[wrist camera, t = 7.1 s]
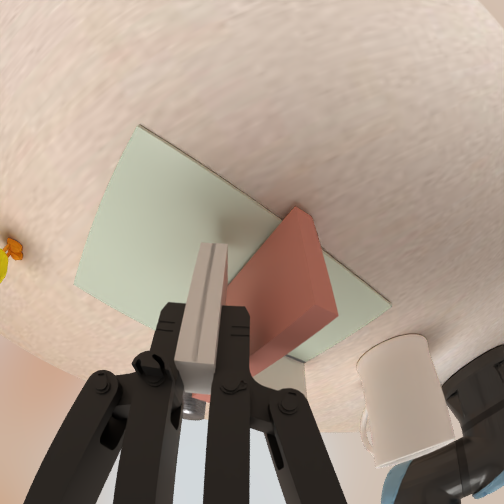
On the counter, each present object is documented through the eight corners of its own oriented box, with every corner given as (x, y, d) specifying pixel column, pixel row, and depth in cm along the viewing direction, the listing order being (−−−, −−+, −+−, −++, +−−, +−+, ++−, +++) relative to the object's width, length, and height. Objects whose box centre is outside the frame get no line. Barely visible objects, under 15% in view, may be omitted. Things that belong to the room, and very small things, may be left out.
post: (221, 322, 22) (210, 416, 15) (207, 334, 23) (194, 422, 16) (197, 310, 21) (179, 407, 14) (184, 323, 22) (166, 413, 16)
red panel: (220, 317, 21) (209, 402, 15) (206, 311, 20) (191, 397, 15) (312, 216, 15) (338, 315, 10) (295, 205, 15) (314, 304, 9)
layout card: (391, 303, 20) (392, 306, 20) (272, 377, 28) (273, 379, 28) (139, 124, 13) (137, 126, 12) (74, 282, 20) (73, 284, 20)
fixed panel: (303, 363, 25) (309, 428, 20) (295, 367, 26) (299, 431, 20) (227, 329, 22) (219, 408, 17) (219, 336, 23) (210, 411, 17)
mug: (373, 388, 31) (387, 469, 22) (323, 383, 29) (332, 478, 20) (439, 339, 24) (470, 432, 15) (395, 326, 23) (428, 446, 13)
